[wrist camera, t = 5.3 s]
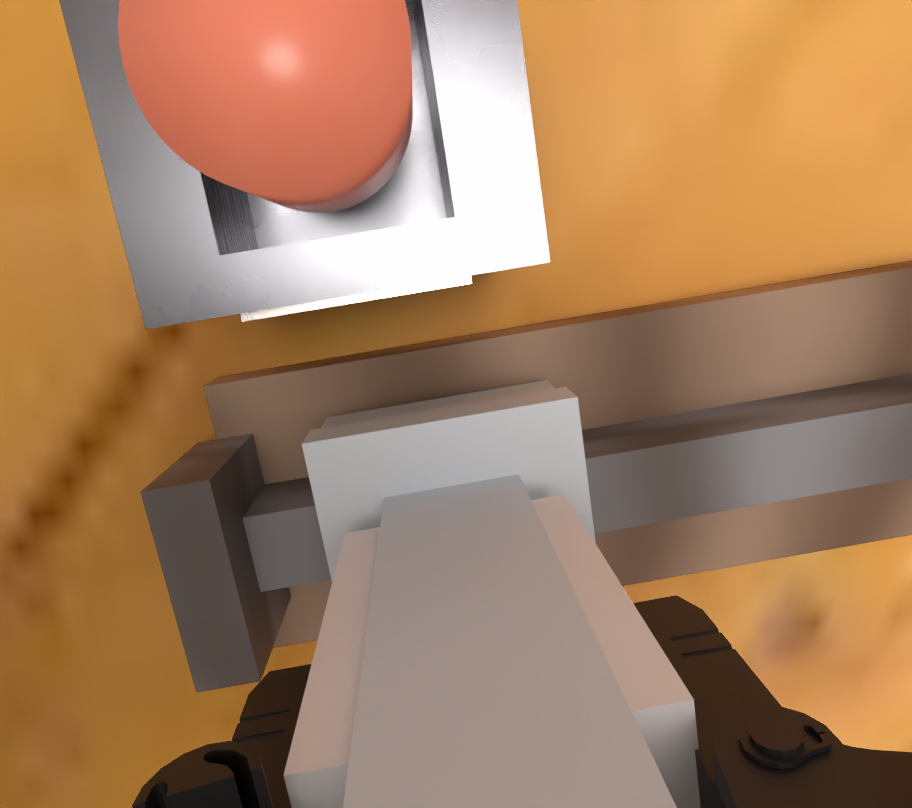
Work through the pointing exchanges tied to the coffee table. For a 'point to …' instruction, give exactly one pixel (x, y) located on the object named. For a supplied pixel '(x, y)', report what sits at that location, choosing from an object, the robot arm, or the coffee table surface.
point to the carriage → (475, 610)
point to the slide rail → (604, 438)
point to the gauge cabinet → (344, 231)
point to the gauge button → (276, 92)
